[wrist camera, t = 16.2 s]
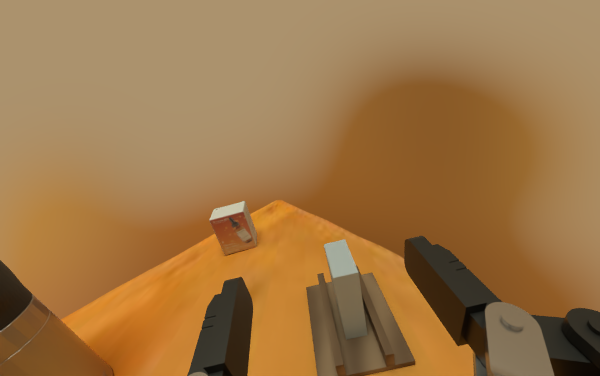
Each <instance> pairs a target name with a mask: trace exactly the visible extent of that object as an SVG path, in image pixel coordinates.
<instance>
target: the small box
mask: <svg viewBox="0 0 600 376" xmlns="http://www.w3.org/2000/svg"><path fill="white" fill-rule="evenodd" d="M210 223H211V225H212V227H213V229H214V232H215V234H216V236H217V239H218V241H219V243H220V245H221V247H222V250H223V252H224V254H225V255H228V254H231V253H235V252H239V251H242V250H246V249H250V248H255V247H256V246H257V233H256V230H255V227H254V224H253V222H252V219H251V216H250V213H249V211H248V208H247V205H246V202H245V201H242V202H240V203H236V204H232V205H229V206H225V207H221V208H216V209H214V210H213V213H212V215H211V218H210Z"/></svg>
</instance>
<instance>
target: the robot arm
mask: <svg viewBox="0 0 600 376" xmlns="http://www.w3.org/2000/svg"><path fill="white" fill-rule="evenodd" d="M404 263H405V267H406V270H407V272H408V274H409V276H410V277H411V279H412V280H413V282H414V283H415V285H416V286H417V288H418V289H419V290H420V292H421V293H422V295H423V296H424V298H425V299H426V301H427V302H428V304H429V305H430V306H431V308H432V309H433V311H434V312H435V314H436V315H437V317H438V318H439V319H440V321H441V322H442V324H443V325H444V327H445V328H446V330H447V331H448V332H449V334H450V335H451V337H452V338H453V340H454V341H455V343H456V344H457V345H458V346H460V345H465V344H469V346H470V347H471V348H472V350H473V351H474V352H473V365H474V376H600V312H598V311H594V310H590V309H585V308H576V309H572V310H571V311H569V312H568V313H567V315H566V317H565V318H559V317H546V316H536V315H530V314H528V313H527V312H526V311H524V310H522V309H520V308H519V307H516V306H514V305H511V304H508V303H504V302H502V301H501V300H500V299H498V298H497V297H496V296H495V295H494V294H493V293H492V292H491V291H490V290H489V289H488V288H487V287H486V286H485V285H484V284H483V283H482V282H481V281H480V280H479V279H478V278H477V277H476V276H475V275H474V274H473V273H472V272H471V271H470V270H469V269H467V268H466V266H465V265H464V264H463V263H461V262H459V260H458V259H457V258H456V257H455V256H454V255H453V254H452V253H451V252H450V251H449V250H447V249H445V248H443V247H442V246H440V245H438V244H436V245H431V243H429V241H428V240H427V239H426V238H425V237H423V236H419V237H415V238H410V239H406V240H405V257H404ZM252 316H253V303H252V299H251V296H250V294H249V291H248V289H247V287H246V285H245V283H244V280H243V278H242V277H239V278H235V279H230V280H226V281H225V282H224V284H223V288H222V292H221V294H217V295H215V296H214V298H213V299H212V301H211V302H210V304H209V305H208V307H207V311H206V314H205V320H204V321H203V325H202V330H201V332H200V335H199V339H198V342H197V346H196V349H195V353H194V356H193V359H192V363H191V366H190V370H189V373H188V375H187V376H247V373H248V361H249V350H250V339H251V327H252ZM0 376H113V371H112V368H111V367H110V366H109V365H108V364H107V363H106V362H105V361H104V360H103V359H101V358H100V357H99V356H98V355H97V354H96V353H95V352H94V351H93V350H92V349H91V348H90V347H89V346H88V345H87V344H86V343H85V342H83V341H82V340H81V339H80V338H79V337H78V336H77V335H76V334H75V333H74V332H73V331H72V330H71V329H69V328H68V327H67V326H66V325H65V324H64V323H63V322H62V321H61V320H60V319H59V318H58V317H57V316H55V315H54V314H53V313H52V312H51V311H50V310H49V309H48V308H47V307H46V306H45V305H43V304H42V303H41V302H40V301H39V300H38V299H37V298H36V297H35V296H34V295H33V294H32V293H31V292H30V291H29V290H28V289H26V288H25V287H24V286H23V285H22V283H21V282H20V281H19V280H18V279H17V277H16V276H15V275H14V274H13V273H12V271H11V270H10V269H9V268H8V267H7V266H6V265H5V264H4V263H3V262H2V261H0Z"/></svg>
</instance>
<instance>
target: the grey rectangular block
mask: <svg viewBox="0 0 600 376" xmlns="http://www.w3.org/2000/svg"><path fill="white" fill-rule="evenodd" d="M324 248H325V252H326V257H327V261H328V266H329V270H330V275H331V279H332V284H333V288H334V293H335V298H336V302H337V306H338V310H339V314H340V318H341V321H342V325H343V329H344V333H345V337H346V340H347V339H351V338H356V337H360V336H365V335H367V328H366V321H365V314H364V307H363V300H362V293H361V286H360V279H359V272H358V270H357V268H356V265H355V263H354V260H353V258H352V256H351V253H350V251H349V248H348V246H347V243H346V241H345V240H341V241H336V242H332V243H328V244H324Z"/></svg>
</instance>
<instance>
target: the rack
mask: <svg viewBox="0 0 600 376" xmlns="http://www.w3.org/2000/svg"><path fill="white" fill-rule="evenodd" d="M356 268H357V270H358V272H359V269H358V267H357V266H356ZM317 275H318V280H319V285H315V286H310V287H306V289H307V297H308V304H309V312H310V320H311V328H312V336H313V344H314V351H315V359H316V367H317V375H318V376H363V375H368V374H373V373H377V372H382V371H386V370H391V369H396V368H400V367H405V366H410V365H414V364H415V360H414V357H413V355H412V353H411V351H410V349H409V347H408V345H407V343H406V341H405V339H404V337H403V335H402V333H401V331H400V329H399V327H398V325H397V323H396V321H395V318H394V316H393V314H392V312H391V310H390V308H389V306H388V304H387V302H386V300H385V298H384V296H383V294H382V292H381V290H380V288H379V286H378V284H377V281H376V279H375V277H374V275H373V273H368V274H364V275H361V274H360V272H359V279H360V286H361V293H362V300H363V307H364V314H365V321H366V328H367V335H365V336H360V337H356V338H351V339H347V340H346V337H345V333H344V329H343V325H342V321H341V318H340V314H339V310H338V306H337V302H336V298H335V293H334V288H333V284H332V282H328V283H325V279H324V275H323V273H321V274H317Z"/></svg>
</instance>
